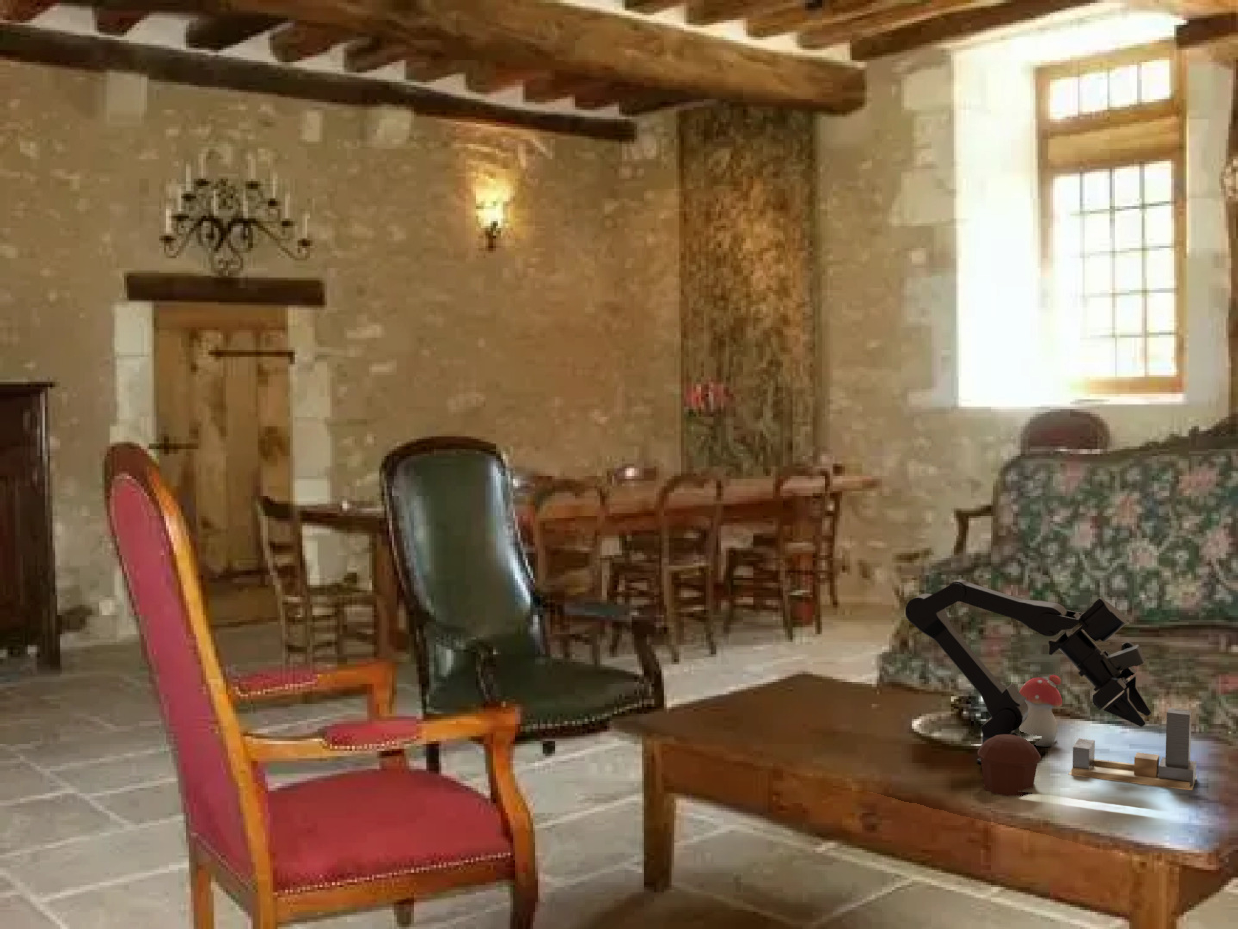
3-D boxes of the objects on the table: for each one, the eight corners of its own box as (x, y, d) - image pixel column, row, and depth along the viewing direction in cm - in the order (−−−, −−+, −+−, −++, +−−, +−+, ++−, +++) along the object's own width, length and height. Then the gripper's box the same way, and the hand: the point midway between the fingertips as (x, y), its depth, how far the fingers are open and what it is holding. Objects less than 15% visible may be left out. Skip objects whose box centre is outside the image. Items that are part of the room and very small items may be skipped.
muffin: (1053, 792, 261) (1054, 739, 260) (1014, 802, 254) (1015, 748, 254) (1002, 777, 270) (1003, 726, 270) (963, 786, 264) (964, 734, 263)
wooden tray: (1068, 780, 268) (1068, 769, 268) (1076, 767, 277) (1077, 756, 277) (1191, 796, 258) (1192, 784, 258) (1196, 782, 267) (1196, 771, 267)
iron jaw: (1072, 772, 269) (1072, 747, 269) (1078, 763, 275) (1078, 738, 275) (1088, 774, 268) (1089, 749, 267) (1094, 765, 274) (1094, 740, 274)
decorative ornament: (1066, 746, 293) (1068, 675, 292) (1046, 750, 289) (1047, 679, 288) (1031, 736, 300) (1032, 667, 299) (1010, 740, 297) (1012, 671, 296)
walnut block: (1133, 778, 265) (1134, 757, 265) (1136, 773, 269) (1137, 752, 269) (1156, 781, 264) (1156, 760, 263) (1158, 775, 267) (1159, 755, 267)
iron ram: (1158, 781, 262) (1160, 713, 261) (1162, 772, 268) (1164, 705, 267) (1192, 786, 259) (1194, 717, 259) (1196, 777, 265) (1198, 709, 264)
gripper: (1111, 638, 259) (1174, 703, 254) (1125, 622, 275) (1184, 683, 271) (1067, 676, 263) (1128, 741, 258) (1082, 658, 279) (1140, 719, 275)
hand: (1146, 719), depth 266 cm, fingers open, 9 cm apart
